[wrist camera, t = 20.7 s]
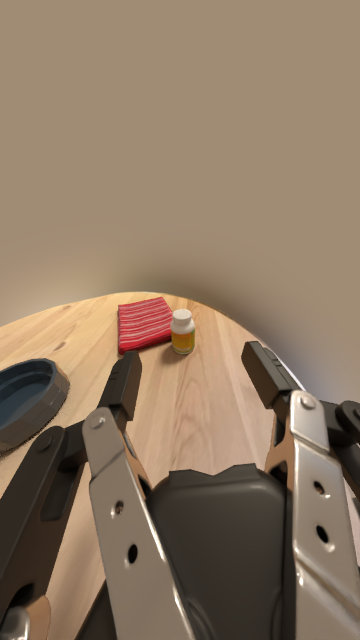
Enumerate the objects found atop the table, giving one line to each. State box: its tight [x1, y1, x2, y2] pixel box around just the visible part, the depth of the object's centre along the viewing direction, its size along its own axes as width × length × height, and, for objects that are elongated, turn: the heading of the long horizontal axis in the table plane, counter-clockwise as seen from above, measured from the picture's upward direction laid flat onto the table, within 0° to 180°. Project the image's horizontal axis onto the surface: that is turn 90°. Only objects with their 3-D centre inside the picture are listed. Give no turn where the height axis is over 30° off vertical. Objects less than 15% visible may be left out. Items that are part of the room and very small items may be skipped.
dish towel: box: [118, 297, 173, 355], centre depth 43 cm, size 17×24×3 cm
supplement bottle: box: [170, 309, 195, 354], centre depth 32 cm, size 5×5×10 cm
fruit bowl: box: [0, 358, 70, 453], centre depth 23 cm, size 13×13×5 cm
